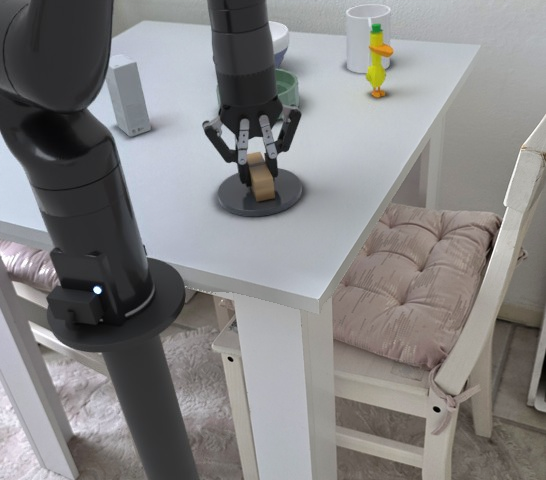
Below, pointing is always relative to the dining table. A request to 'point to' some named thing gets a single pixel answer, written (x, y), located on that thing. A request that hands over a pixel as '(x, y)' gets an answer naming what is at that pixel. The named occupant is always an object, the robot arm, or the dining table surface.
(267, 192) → the clip
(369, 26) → the cup
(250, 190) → the plate
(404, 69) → the dining table surface
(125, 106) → the cosmetic box
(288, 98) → the green bowl
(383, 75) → the toy figure
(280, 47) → the bowl
